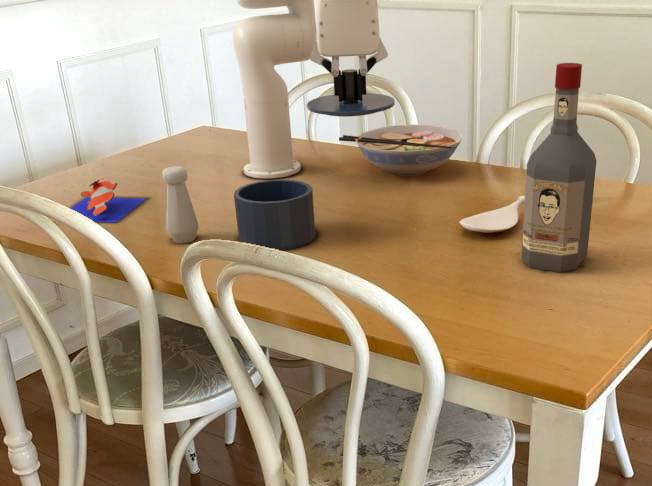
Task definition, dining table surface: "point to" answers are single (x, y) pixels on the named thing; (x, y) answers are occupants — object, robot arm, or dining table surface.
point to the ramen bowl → (407, 147)
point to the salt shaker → (179, 206)
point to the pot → (275, 213)
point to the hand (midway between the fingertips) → (350, 98)
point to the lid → (350, 100)
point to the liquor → (559, 185)
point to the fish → (105, 203)
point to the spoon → (494, 219)
